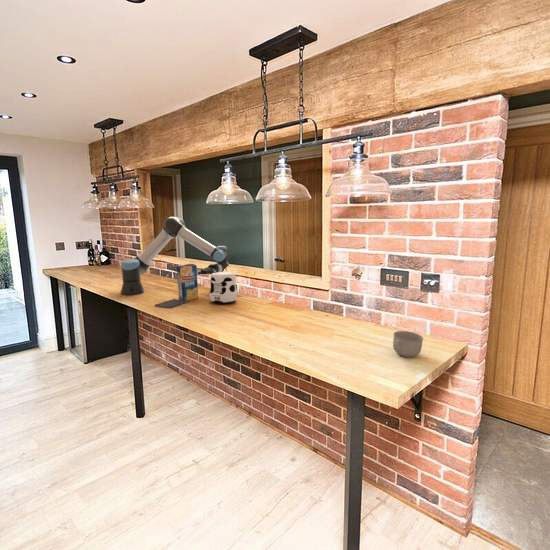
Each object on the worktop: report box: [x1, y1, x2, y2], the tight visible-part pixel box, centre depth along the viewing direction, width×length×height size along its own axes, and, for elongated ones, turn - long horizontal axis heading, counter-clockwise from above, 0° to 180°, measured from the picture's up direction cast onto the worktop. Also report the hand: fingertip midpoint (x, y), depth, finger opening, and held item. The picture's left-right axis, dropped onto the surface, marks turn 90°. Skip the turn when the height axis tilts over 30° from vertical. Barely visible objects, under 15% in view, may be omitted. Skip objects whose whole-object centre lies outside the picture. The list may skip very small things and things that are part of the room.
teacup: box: [392, 330, 424, 358], centre depth 140 cm, size 14×11×8 cm
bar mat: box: [154, 298, 190, 309], centre depth 225 cm, size 12×18×1 cm, turn 154°
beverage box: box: [176, 263, 199, 301], centre depth 236 cm, size 7×11×22 cm, turn 125°
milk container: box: [209, 271, 238, 305], centre depth 228 cm, size 17×17×18 cm
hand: (194, 273), depth 239 cm, fingers closed
